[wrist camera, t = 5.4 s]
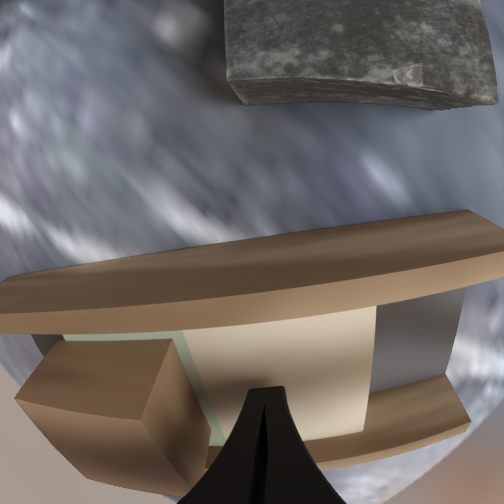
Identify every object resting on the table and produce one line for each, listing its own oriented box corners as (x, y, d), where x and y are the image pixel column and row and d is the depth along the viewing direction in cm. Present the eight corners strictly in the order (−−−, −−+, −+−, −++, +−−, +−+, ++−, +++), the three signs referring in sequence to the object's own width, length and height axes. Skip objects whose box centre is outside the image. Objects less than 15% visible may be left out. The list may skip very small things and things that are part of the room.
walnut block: (211, 429, 13) (199, 498, 10) (110, 423, 14) (86, 478, 10) (172, 338, 11) (140, 420, 7) (58, 340, 12) (14, 397, 8)
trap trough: (439, 379, 16) (465, 431, 11) (80, 407, 18) (57, 450, 14) (469, 209, 12) (530, 245, 7) (9, 276, 14) (-37, 314, 10)
